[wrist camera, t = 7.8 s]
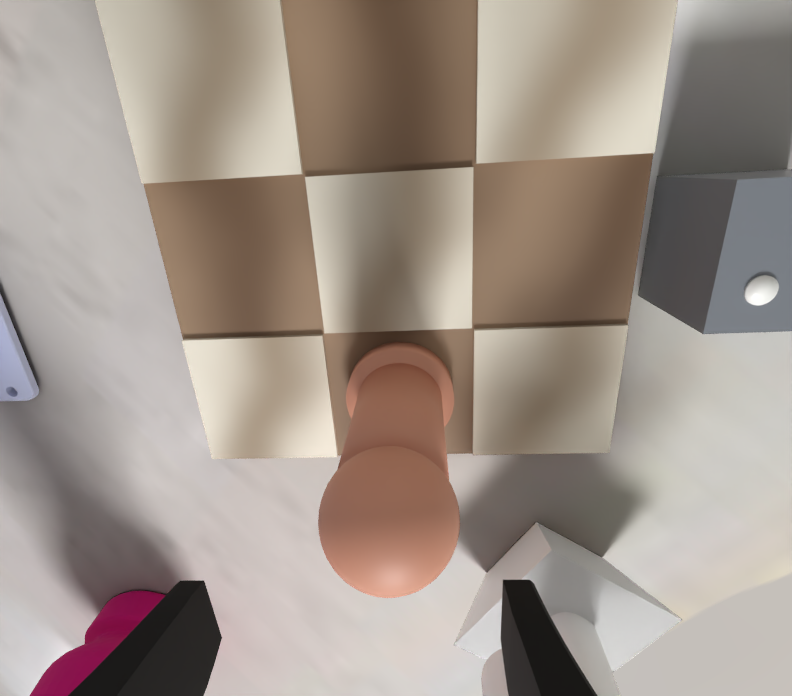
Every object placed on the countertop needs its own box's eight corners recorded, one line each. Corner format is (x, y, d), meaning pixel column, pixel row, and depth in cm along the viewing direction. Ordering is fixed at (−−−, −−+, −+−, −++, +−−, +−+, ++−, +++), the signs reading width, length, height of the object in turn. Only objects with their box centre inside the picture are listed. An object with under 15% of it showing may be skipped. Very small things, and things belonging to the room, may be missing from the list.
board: (221, 444, 22) (211, 459, 20) (112, -6, 15) (87, -20, 14) (600, 438, 20) (610, 453, 19) (669, -57, 14) (691, -77, 12)
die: (637, 295, 18) (705, 335, 14) (656, 176, 16) (739, 179, 12) (754, 290, 18) (860, 330, 13) (785, 169, 16) (918, 170, 12)
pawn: (354, 434, 20) (303, 640, 11) (344, 343, 18) (275, 503, 10) (452, 432, 19) (478, 642, 11) (452, 339, 18) (480, 501, 9)
